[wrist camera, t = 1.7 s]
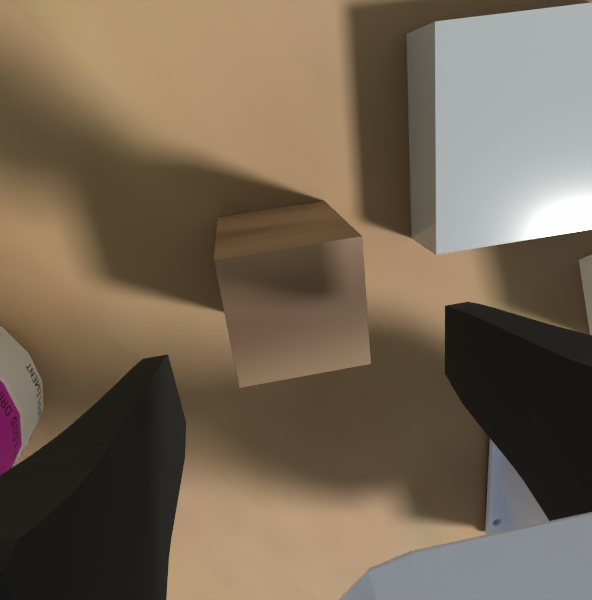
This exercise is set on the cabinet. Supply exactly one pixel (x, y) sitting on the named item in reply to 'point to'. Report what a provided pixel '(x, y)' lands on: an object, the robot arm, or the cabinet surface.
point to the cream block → (587, 286)
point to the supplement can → (17, 399)
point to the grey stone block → (500, 127)
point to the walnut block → (292, 292)
